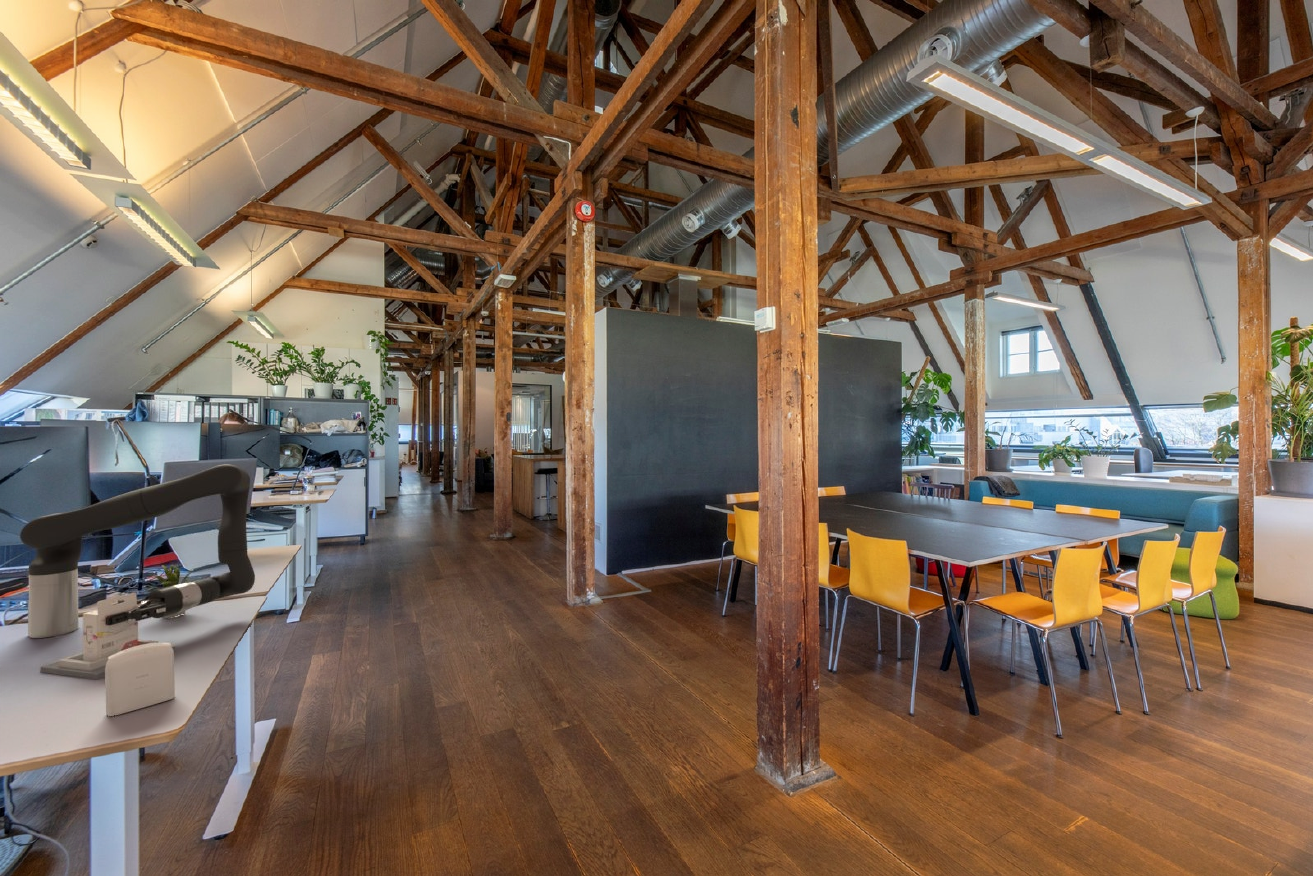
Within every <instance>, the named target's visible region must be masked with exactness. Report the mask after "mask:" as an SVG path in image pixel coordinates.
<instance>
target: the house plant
mask: <svg viewBox="0 0 1313 876" xmlns="http://www.w3.org/2000/svg"><path fill="white" fill-rule="evenodd" d="M178 565H179V562H178V563H177V564H176V565H174V564H171V566H170V568H168V567H167V566H165V565H163V564H162V565H161V567H162V568H163V569H164V574H165V576H166V578H167V580H168V581H167V580H166V579H165V578H164V577H162V576H160V575H158V574H153V572H152V571H150V576H151V577H152V576H153V577H152V578H153V579H154V578H155V579H157V580H158V581H160V582H161V583H160V585H163V586H164V588H165V587H169V586H173V585H177V584H181V583H188V582H189V580H192V579H194V580H195V579H196V578H195V577H192V578H188V577H189V576H190V575H191V574H192V573H193V572H194V571H195V569H193V568H191V569H190V570H189V572H188V573H187V574H186V575H185V576H184V577H183V579H182V580H181V582H180V583H179V581H180V576H181V570H180V568H179V567H178ZM197 569H199V567H198V568H196V570H197ZM141 572H142V573H144V572H146V573H147V572H148V571H144V570H143V571H141ZM151 573H152V574H151ZM142 586H147V587H149V588H147V589H146V590H145V592H148V591H149V590H152V589H154V590H157V589H161V587H160V586H153V585H152V586H151V585H149V584H148V585H142ZM181 614H184V615H186V611H182V612H179V613H176V614H172V615H169V616H165V617H162V619H165V618H168V619H172V618H171V617H175V616H178V615H181ZM175 618H176V617H175Z"/></svg>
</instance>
